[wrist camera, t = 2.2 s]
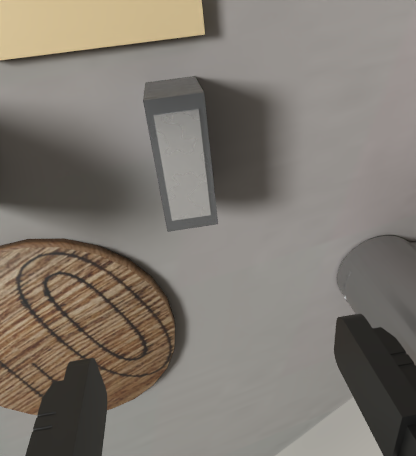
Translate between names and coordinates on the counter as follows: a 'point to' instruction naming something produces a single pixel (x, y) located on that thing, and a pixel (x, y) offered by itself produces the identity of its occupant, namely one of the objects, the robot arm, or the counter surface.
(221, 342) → the counter surface
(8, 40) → the yellow peg board
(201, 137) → the grey rectangular block
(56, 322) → the trivet
